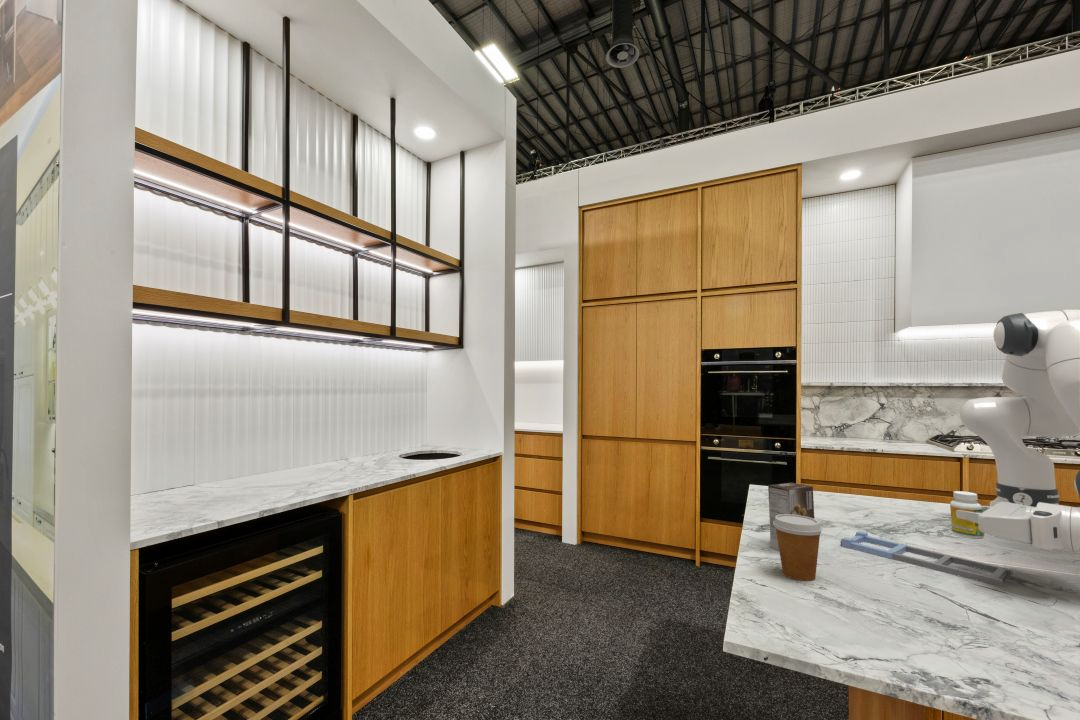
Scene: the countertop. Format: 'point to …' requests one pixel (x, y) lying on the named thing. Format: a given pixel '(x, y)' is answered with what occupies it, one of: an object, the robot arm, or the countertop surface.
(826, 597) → the countertop surface
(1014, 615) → the countertop surface
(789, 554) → the disposable coffee cup
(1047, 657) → the countertop surface
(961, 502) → the supplement bottle
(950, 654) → the countertop surface
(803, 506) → the coffee box
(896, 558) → the blue ladder rack
